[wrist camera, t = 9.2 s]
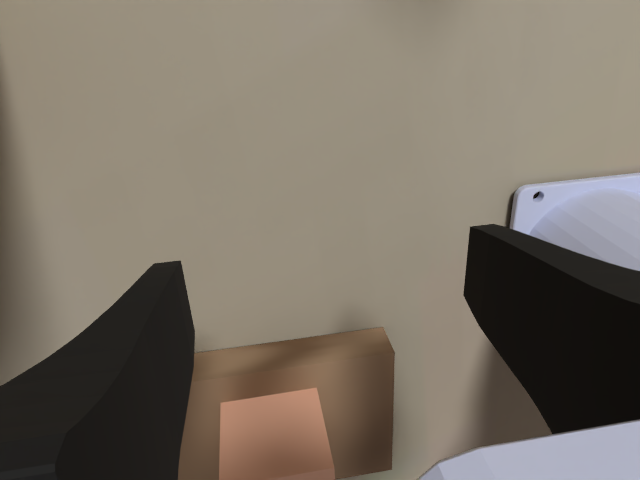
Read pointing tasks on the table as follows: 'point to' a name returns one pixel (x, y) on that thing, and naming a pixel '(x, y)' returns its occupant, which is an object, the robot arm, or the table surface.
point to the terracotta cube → (275, 438)
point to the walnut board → (293, 375)
